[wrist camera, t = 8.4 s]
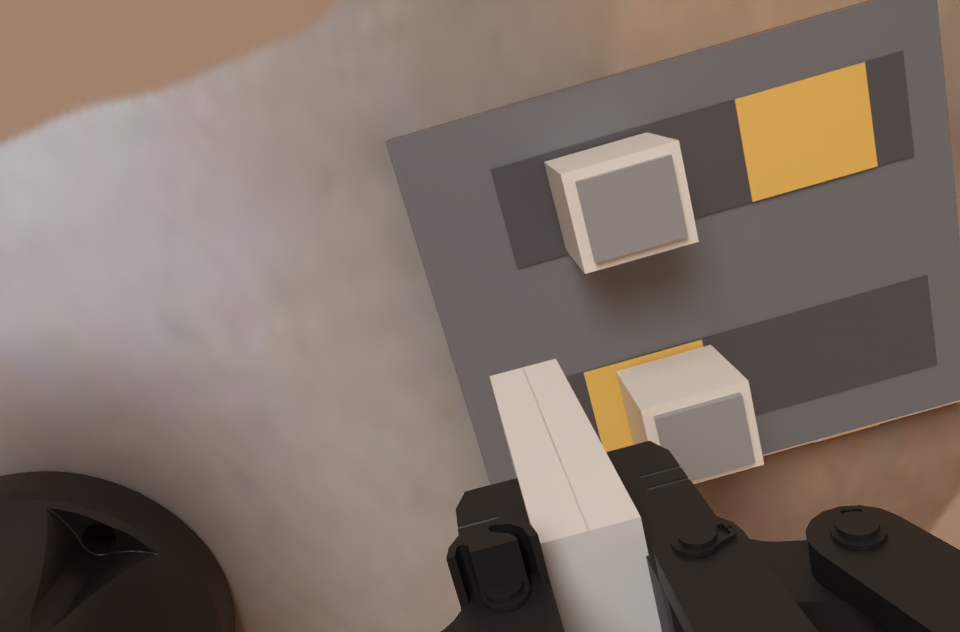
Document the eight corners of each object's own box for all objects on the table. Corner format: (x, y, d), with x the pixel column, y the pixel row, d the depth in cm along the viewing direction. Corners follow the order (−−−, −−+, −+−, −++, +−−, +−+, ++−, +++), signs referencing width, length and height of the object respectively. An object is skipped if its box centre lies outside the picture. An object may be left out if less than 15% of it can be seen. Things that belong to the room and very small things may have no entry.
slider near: (565, 249, 31) (586, 276, 27) (543, 161, 30) (561, 175, 26) (665, 221, 31) (701, 243, 27) (646, 132, 30) (681, 141, 25)
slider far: (634, 445, 33) (662, 497, 29) (616, 371, 32) (643, 413, 28) (725, 420, 33) (767, 468, 29) (710, 344, 32) (751, 383, 28)
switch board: (503, 514, 36) (506, 535, 34) (388, 139, 31) (385, 143, 29) (951, 389, 36) (977, 405, 34) (910, -12, 30) (938, -17, 29)
